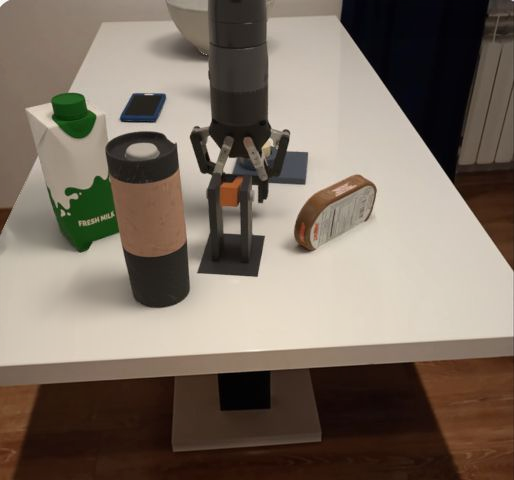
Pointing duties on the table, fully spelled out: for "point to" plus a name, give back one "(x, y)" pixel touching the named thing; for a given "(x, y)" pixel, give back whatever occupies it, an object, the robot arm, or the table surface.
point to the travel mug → (150, 216)
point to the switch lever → (233, 189)
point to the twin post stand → (231, 235)
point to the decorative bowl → (196, 20)
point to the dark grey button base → (291, 168)
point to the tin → (334, 211)
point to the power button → (266, 149)
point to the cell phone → (143, 107)
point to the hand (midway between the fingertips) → (241, 199)
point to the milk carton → (75, 166)
